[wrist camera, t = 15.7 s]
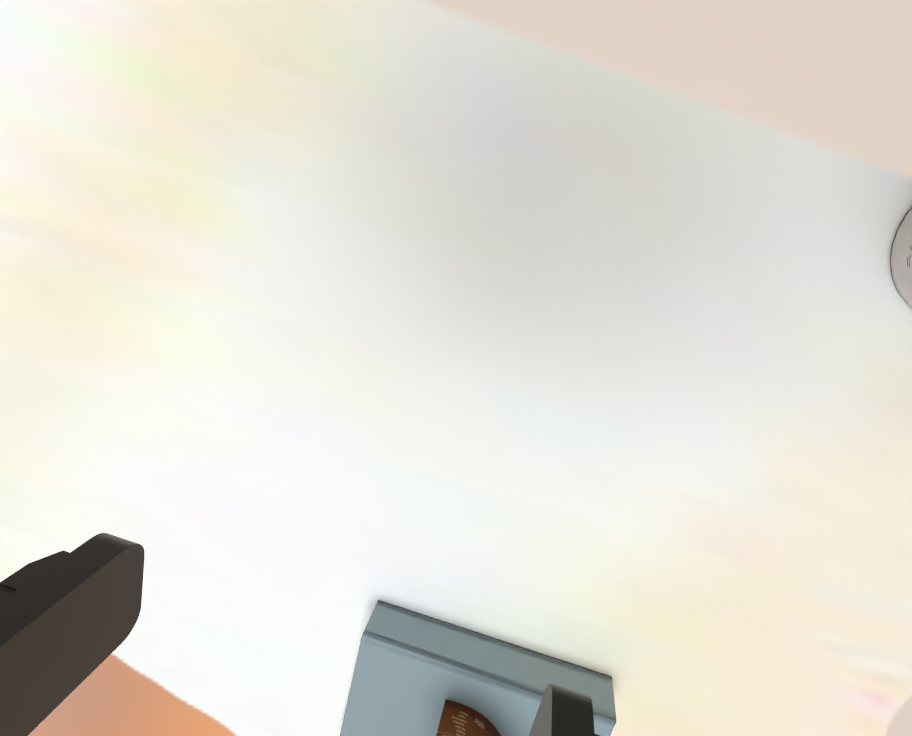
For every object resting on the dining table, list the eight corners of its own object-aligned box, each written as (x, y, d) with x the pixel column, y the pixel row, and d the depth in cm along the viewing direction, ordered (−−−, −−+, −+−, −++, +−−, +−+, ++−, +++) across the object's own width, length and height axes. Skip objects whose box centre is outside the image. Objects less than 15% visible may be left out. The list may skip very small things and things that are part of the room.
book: (611, 676, 45) (616, 720, 41) (559, 804, 49) (559, 854, 46) (378, 600, 47) (362, 635, 43) (349, 729, 52) (331, 771, 48)
